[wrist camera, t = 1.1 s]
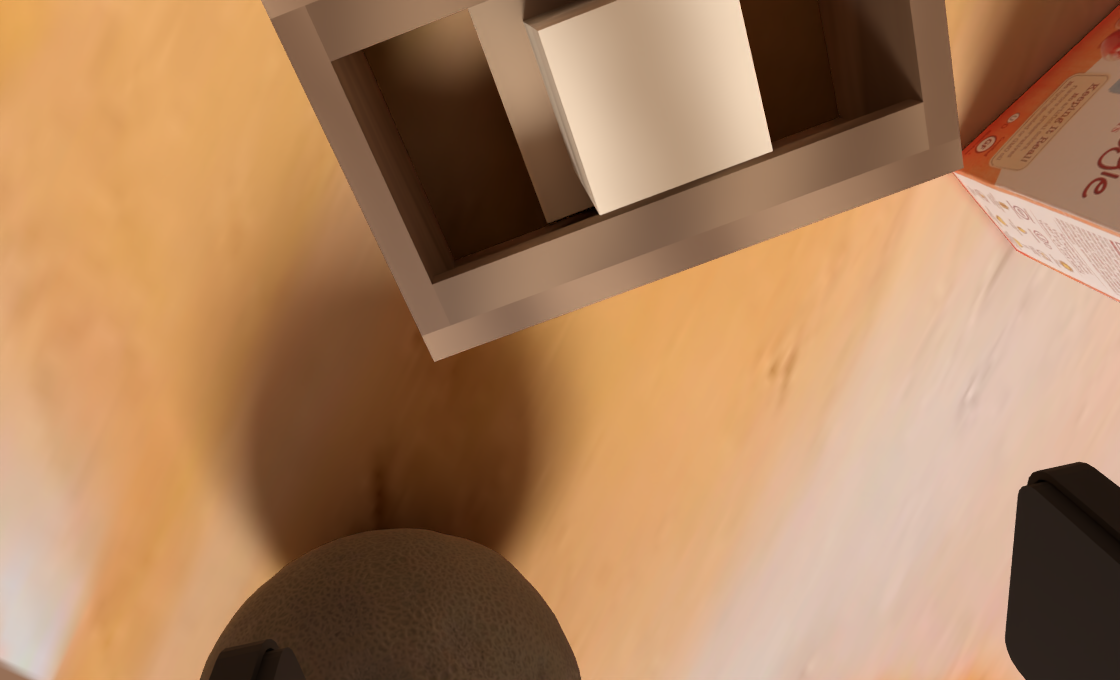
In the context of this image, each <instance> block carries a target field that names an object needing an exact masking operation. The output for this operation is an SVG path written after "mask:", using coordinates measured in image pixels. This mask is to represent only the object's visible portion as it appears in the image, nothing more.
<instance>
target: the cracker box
mask: <svg viewBox="0 0 1120 680" xmlns="http://www.w3.org/2000/svg"><path fill="white" fill-rule="evenodd" d="M962 157H963V165H964V168H962V169H960V170H957V171H954V172H952V173H953V174H954V175H955V176H956V177H957V179H958V180H959V181H960V182H961V184H962V185H963V186H964V188H965V189H966V190H967V191H968V192H969V194H970V195H971V196H972V197H973V198H974V200H975V201H976V202H977V203H978V204H979V206H980V207H981V208H982V209H983V210H984V212H985V213H986V214H987V215H988V216H989V218H990V219H991V220H992V221H993V222H994V224H995V225H996V226H997V227H998V228H999V229H1000V231H1001V232H1002V233H1003V234H1004V236H1005V237H1006V238H1007V239H1008V240H1009V241H1010V243H1011V244H1012V245H1013V247H1014V248H1015V249H1016V251H1018V252H1020V253H1022V254H1023V255H1025V256H1027V257H1029V258H1031V259H1033V260H1035V261H1037V262H1039V263H1041V264H1043V265H1045V266H1047V267H1049V268H1051V269H1053V270H1055V271H1057V272H1059V273H1061V274H1063V275H1065V276H1067V277H1069V278H1071V279H1073V280H1075V281H1077V282H1079V283H1081V284H1083V285H1085V286H1087V287H1089V288H1091V289H1093V290H1095V291H1097V292H1099V293H1101V294H1103V295H1105V296H1107V297H1109V298H1111V299H1113V300H1115V301H1117V302H1119V303H1120V5H1119V6H1118V7H1116V8H1115V9H1114V10H1113V11H1112V12H1111V13H1110V14H1109V15H1108V16H1107V17H1106V18H1105V19H1104V20H1102V21H1101V22H1100V23H1099V24H1098V25H1097V26H1096V27H1095V28H1094V29H1093V30H1092V31H1091V32H1090V33H1088V34H1087V35H1086V36H1085V37H1084V38H1083V39H1082V40H1081V41H1080V42H1079V43H1078V44H1077V45H1075V46H1074V47H1073V48H1072V49H1071V50H1070V51H1069V52H1068V53H1067V54H1066V55H1065V56H1064V57H1063V58H1062V59H1061V60H1060V61H1058V62H1057V63H1056V64H1055V65H1054V66H1053V67H1052V68H1051V69H1050V70H1049V71H1048V72H1047V73H1045V74H1044V75H1043V76H1042V77H1041V78H1040V79H1039V80H1038V81H1037V82H1036V83H1035V84H1034V85H1033V86H1031V87H1030V88H1029V89H1028V90H1027V91H1026V92H1025V93H1024V94H1023V95H1022V96H1021V97H1020V98H1019V99H1018V100H1016V101H1015V102H1014V103H1013V104H1012V105H1011V106H1010V107H1009V108H1008V109H1007V110H1006V111H1004V112H1003V113H1002V114H1001V115H1000V116H999V117H998V118H997V119H996V120H995V121H994V122H993V123H992V124H990V125H989V126H988V127H987V128H986V129H985V130H984V131H983V132H982V133H981V134H980V135H979V136H978V137H977V138H976V139H974V140H973V141H972V142H971V143H970V144H969V145H968V146H967V147H966V148H965V149H964V150H963V151H962Z"/></svg>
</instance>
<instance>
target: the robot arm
mask: <svg viewBox="0 0 1120 680" xmlns="http://www.w3.org/2000/svg"><path fill="white" fill-rule="evenodd" d="M1005 643H1006V647H1007V650H1008V653H1009V656H1010V658H1011V660H1012V662H1013V664H1014V665H1015V666H1016V668H1017V669H1018V671H1019V672H1020V673H1021V674H1022V676H1023V677H1024V678H1025V679H1026V680H1120V487H1119V486H1117V485H1116V484H1115V483H1113V482H1112V481H1111V480H1110V479H1108V478H1107V477H1106V476H1104V475H1103V474H1102V473H1100V472H1099V471H1098V470H1097V469H1095V468H1094V467H1092V466H1090V465H1089V464H1087V463H1082V462H1076V463H1072V464H1067V465H1063V466H1058V467H1054V468H1049V469H1044V470H1040V471H1036V472H1033V473H1032V474H1031V476H1030V477H1029V480H1028V484H1027V486H1023V487H1022V488H1021V489H1020V490H1019V493H1018V500H1017V511H1016V522H1015V533H1014V544H1013V555H1012V566H1011V577H1010V588H1009V599H1008V610H1007V621H1006V632H1005ZM209 680H306V678H305V676H304V674H303V672H302V669H301V667H300V665H299V663H298V661H297V659H296V656H295V654H294V653H293V651H292V649H290V648H289V647H287V648H282V649H280V648H279V646H278V645H277V643H276V642H275V641H274V640H272V639H266V640H261V641H257V642H252V643H248V644H243V645H238V646H234V647H229V648H225V649H224V650H222V651H221V652H220V654H219V656H218V658H217V659H216V662H215V665H214V667H213V670H212V673H211V675H210V678H209Z"/></svg>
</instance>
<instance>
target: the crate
mask: <svg viewBox="0 0 1120 680" xmlns="http://www.w3.org/2000/svg"><path fill="white" fill-rule="evenodd" d="M261 1H262V3H263V5H264V7H265V9H266V12H267V14H268V16H269V18H270V20H271V22H272V24H273V26H274V28H275V30H276V32H277V35H278V37H279V39H280V41H281V43H282V45H283V47H284V49H285V51H286V53H287V55H288V57H289V60H290V62H291V64H292V66H293V68H294V70H295V72H296V74H297V76H298V78H299V80H300V83H301V85H302V87H303V89H304V91H305V93H306V95H307V97H308V99H309V101H310V103H311V106H312V108H313V110H314V112H315V114H316V116H317V118H318V120H319V122H320V124H321V126H322V129H323V131H324V133H325V135H326V137H327V139H328V141H329V143H330V145H331V147H332V149H333V151H334V154H335V156H336V158H337V160H338V162H339V164H340V166H341V168H342V170H343V172H344V174H345V177H346V179H347V181H348V183H349V185H350V187H351V189H352V191H353V193H354V195H355V197H356V200H357V202H358V204H359V206H360V208H361V210H362V212H363V214H364V216H365V218H366V220H367V223H368V225H369V227H370V229H371V231H372V233H373V235H374V237H375V239H376V241H377V243H378V245H379V248H380V250H381V252H382V254H383V256H384V258H385V260H386V262H387V264H388V266H389V268H390V271H391V273H392V275H393V277H394V279H395V281H396V283H397V285H398V287H399V289H400V291H401V294H402V296H403V298H404V300H405V302H406V304H407V306H408V308H409V310H410V312H411V314H412V317H413V319H414V321H415V323H416V325H417V327H418V329H419V331H420V333H421V335H422V337H423V339H424V342H425V344H426V346H427V348H428V350H429V352H430V354H431V356H432V358H433V360H434V362H436V361H438V360H441V359H444V358H446V357H449V356H452V355H455V354H457V353H460V352H463V351H466V350H468V349H471V348H474V347H476V346H479V345H482V344H485V343H487V342H490V341H493V340H496V339H498V338H501V337H504V336H506V335H509V334H512V333H515V332H517V331H520V330H523V329H526V328H528V327H531V326H534V325H537V324H539V323H542V322H545V321H547V320H550V319H553V318H556V317H558V316H561V315H564V314H567V313H569V312H572V311H575V310H577V309H580V308H583V307H586V306H588V305H591V304H594V303H597V302H599V301H602V300H605V299H607V298H610V297H613V296H616V295H618V294H621V293H624V292H627V291H629V290H632V289H635V288H637V287H640V286H643V285H646V284H648V283H651V282H654V281H657V280H659V279H662V278H665V277H668V276H670V275H673V274H676V273H678V272H681V271H684V270H687V269H689V268H692V267H695V266H698V265H700V264H703V263H706V262H708V261H711V260H714V259H717V258H719V257H722V256H725V255H728V254H730V253H733V252H736V251H738V250H741V249H744V248H747V247H749V246H752V245H755V244H758V243H760V242H763V241H766V240H768V239H771V238H774V237H777V236H779V235H782V234H785V233H788V232H790V231H793V230H796V229H799V228H801V227H804V226H807V225H809V224H812V223H815V222H818V221H820V220H823V219H826V218H829V217H831V216H834V215H837V214H839V213H842V212H845V211H848V210H850V209H853V208H856V207H859V206H861V205H864V204H867V203H869V202H872V201H875V200H878V199H880V198H883V197H886V196H889V195H891V194H894V193H897V192H899V191H902V190H905V189H908V188H910V187H913V186H916V185H919V184H921V183H924V182H927V181H930V180H932V179H935V178H938V177H940V176H943V175H946V174H949V173H951V172H954V171H957V170H960V169H962V168H964V165H963V157H962V148H961V139H960V130H959V122H958V113H957V104H956V95H955V87H954V78H953V69H952V60H951V52H950V43H949V34H948V25H947V17H946V8H945V0H818V4H819V9H820V15H821V20H822V26H823V31H824V37H825V42H826V48H827V53H828V59H829V64H830V70H831V75H832V81H833V86H834V92H835V97H836V103H837V108H838V114H839V118H836V119H833V120H831V121H828V122H825V123H822V124H820V125H817V126H814V127H812V128H809V129H806V130H804V131H801V132H798V133H796V134H793V135H790V136H788V137H785V138H782V139H780V140H777V141H774V142H771V145H772V149H773V151H772V152H769V153H766V154H764V155H761V156H758V157H755V158H753V159H750V160H747V161H745V162H742V163H739V164H737V165H734V166H731V167H729V168H726V169H723V170H721V171H718V172H715V173H712V174H710V175H707V176H704V177H702V178H699V179H696V180H694V181H691V182H688V183H686V184H683V185H680V186H678V187H675V188H672V189H669V190H667V191H664V192H661V193H659V194H656V195H653V196H651V197H648V198H645V199H643V200H640V201H637V202H635V203H632V204H629V205H626V206H624V207H621V208H618V209H616V210H613V211H610V212H608V213H605V214H602V215H599V213H598V211H597V209H596V208H594V209H592V210H589V211H586V212H584V213H581V214H578V215H576V216H573V217H570V218H567V219H565V220H562V221H559V222H557V223H554V224H551V225H549V226H546V227H543V228H541V229H538V230H535V231H533V232H530V233H527V234H525V235H522V236H519V237H516V238H514V239H511V240H508V241H506V242H503V243H500V244H498V245H495V246H492V247H490V248H487V249H484V250H482V251H479V252H476V253H474V254H471V255H468V256H465V257H463V258H460V259H457V260H455V261H454V258H453V256H452V254H451V252H450V249H449V247H448V245H447V242H446V240H445V238H444V235H443V233H442V231H441V229H440V226H439V224H438V222H437V219H436V217H435V215H434V213H433V210H432V208H431V206H430V203H429V201H428V199H427V196H426V194H425V192H424V190H423V187H422V185H421V183H420V180H419V178H418V176H417V174H416V171H415V169H414V167H413V164H412V162H411V160H410V158H409V155H408V153H407V151H406V148H405V146H404V144H403V141H402V139H401V137H400V135H399V132H398V130H397V128H396V125H395V123H394V121H393V119H392V116H391V114H390V112H389V109H388V107H387V105H386V102H385V100H384V98H383V96H382V93H381V91H380V89H379V86H378V84H377V82H376V80H375V77H374V75H373V73H372V70H371V68H370V66H369V64H368V61H367V59H366V57H365V54H364V52H363V50H362V49H365V48H367V47H370V46H372V45H375V44H377V43H380V42H383V41H385V40H388V39H390V38H393V37H395V36H398V35H401V34H403V33H406V32H408V31H411V30H413V29H416V28H419V27H421V26H424V25H426V24H429V23H431V22H434V21H437V20H439V19H442V18H444V17H447V16H449V15H452V14H455V13H457V12H460V11H462V10H465V9H467V8H468V11H469V13H470V16H471V19H472V22H473V24H474V27H475V30H476V32H477V35H478V38H479V40H480V43H481V46H482V49H483V51H484V54H485V57H486V59H487V62H488V65H489V68H490V70H491V73H492V76H493V78H494V81H495V84H496V86H497V89H498V92H499V95H500V97H501V100H502V103H503V105H504V108H505V111H506V113H507V116H508V119H509V122H510V124H511V127H512V130H513V132H514V135H515V138H516V140H517V143H518V146H519V149H520V151H521V154H522V157H523V159H524V162H525V165H526V167H527V170H528V173H529V176H530V178H531V181H532V184H533V186H534V189H535V192H536V194H537V197H538V200H539V203H540V205H541V208H542V211H543V213H544V216H545V219H546V221H547V223H550V222H553V221H555V220H558V219H561V218H563V217H566V216H569V215H571V214H574V213H577V212H579V211H582V210H585V209H587V208H590V207H593V206H594V204H593V202H592V201H591V199H590V197H589V195H588V194H587V192H586V190H585V188H584V187H583V185H582V183H581V181H580V180H579V178H578V176H577V174H576V173H575V171H574V169H573V166H572V163H571V160H570V158H569V155H568V152H567V149H566V146H565V143H564V140H563V137H562V134H561V131H560V128H559V125H558V123H557V120H556V117H555V114H554V111H553V108H552V105H551V102H550V99H549V96H548V93H547V90H546V88H545V85H544V82H543V79H542V76H541V73H540V70H539V67H538V64H537V61H536V58H535V55H534V53H533V50H532V47H531V44H530V41H529V38H528V35H527V32H526V29H525V26H524V23H523V21H525V20H527V19H530V18H533V17H535V16H538V15H540V14H543V13H545V12H548V11H551V10H553V9H556V8H558V7H561V6H564V5H566V4H569V3H571V2H574V1H577V0H261Z"/></svg>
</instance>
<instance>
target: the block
mask: <svg viewBox="0 0 1120 680" xmlns="http://www.w3.org/2000/svg"><path fill="white" fill-rule="evenodd" d="M523 23H524V26H525V29H526V32H527V35H528V38H529V41H530V44H531V47H532V50H533V53H534V55H535V58H536V61H537V64H538V67H539V70H540V73H541V76H542V79H543V82H544V85H545V88H546V90H547V93H548V96H549V99H550V102H551V105H552V108H553V111H554V114H555V117H556V120H557V123H558V125H559V128H560V131H561V134H562V137H563V140H564V143H565V146H566V149H567V152H568V155H569V158H570V160H571V163H572V166H573V169H574V171H575V173H576V174H577V176H578V178H579V180H580V181H581V183H582V185H583V187H584V188H585V190H586V192H587V194H588V195H589V197H590V199H591V201H592V202H593V204H594V206H595V208H596V209H597V211H598V213H599V215H602V214H605V213H608V212H610V211H613V210H616V209H618V208H621V207H624V206H626V205H629V204H632V203H635V202H637V201H640V200H643V199H645V198H648V197H651V196H653V195H656V194H659V193H661V192H664V191H667V190H669V189H672V188H675V187H678V186H680V185H683V184H686V183H688V182H691V181H694V180H696V179H699V178H702V177H704V176H707V175H710V174H712V173H715V172H718V171H721V170H723V169H726V168H729V167H731V166H734V165H737V164H739V163H742V162H745V161H747V160H750V159H753V158H755V157H758V156H761V155H764V154H766V153H769V152H772V151H773V149H772V145H771V140H770V136H769V131H768V127H767V122H766V118H765V113H764V109H763V104H762V100H761V95H760V91H759V86H758V82H757V78H756V73H755V69H754V64H753V60H752V55H751V51H750V46H749V42H748V37H747V33H746V28H745V24H744V19H743V15H742V11H741V6H740V2H739V0H577V1H574V2H571V3H569V4H566V5H564V6H561V7H558V8H556V9H553V10H551V11H548V12H545V13H543V14H540V15H538V16H535V17H533V18H530V19H527V20H525V21H523Z"/></svg>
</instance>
